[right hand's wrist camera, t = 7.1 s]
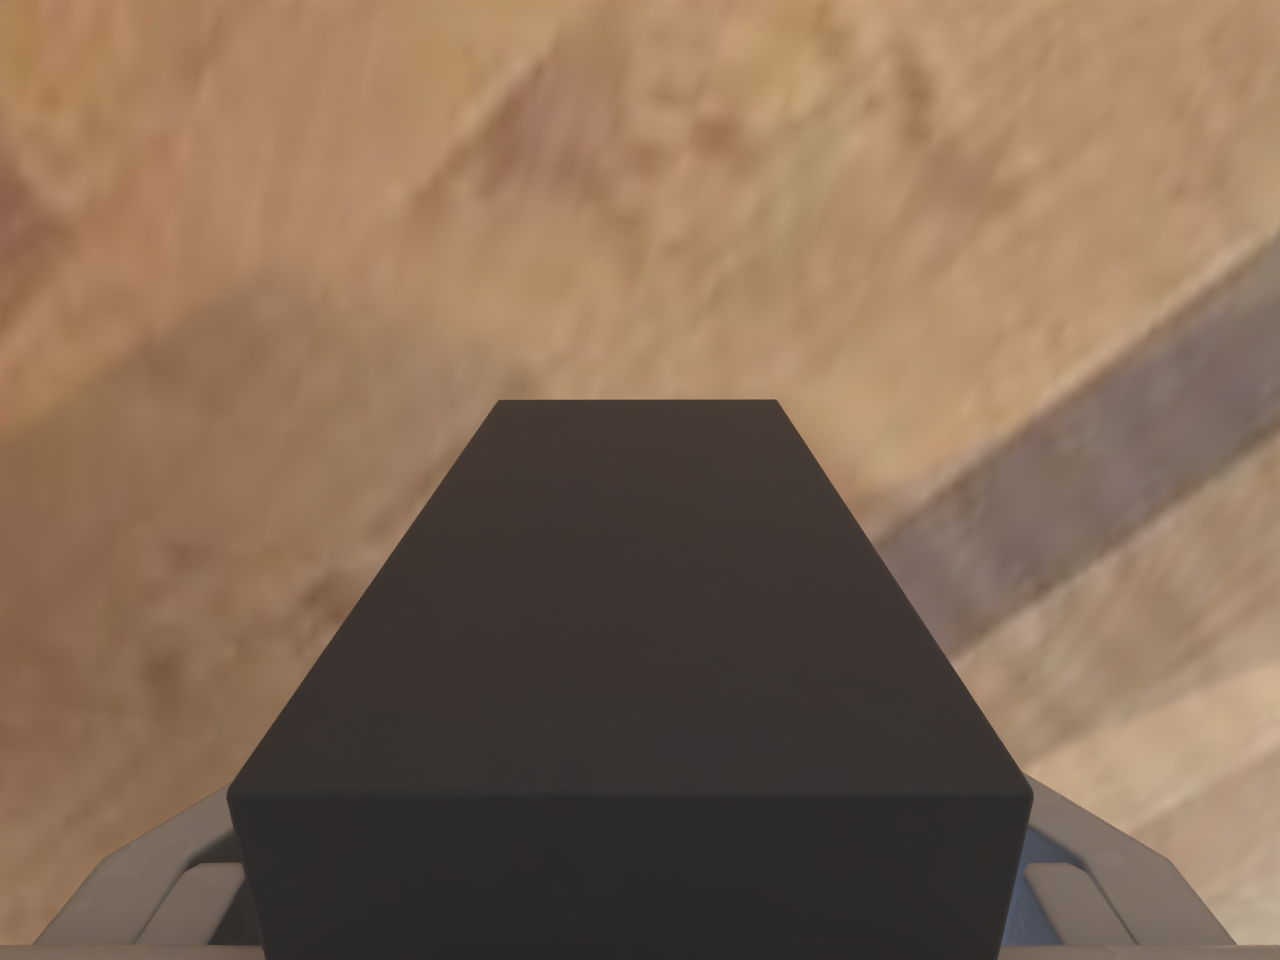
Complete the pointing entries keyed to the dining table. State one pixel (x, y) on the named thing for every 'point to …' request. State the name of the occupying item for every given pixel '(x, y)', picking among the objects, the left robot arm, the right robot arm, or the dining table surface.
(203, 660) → the dining table surface
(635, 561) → the bar
